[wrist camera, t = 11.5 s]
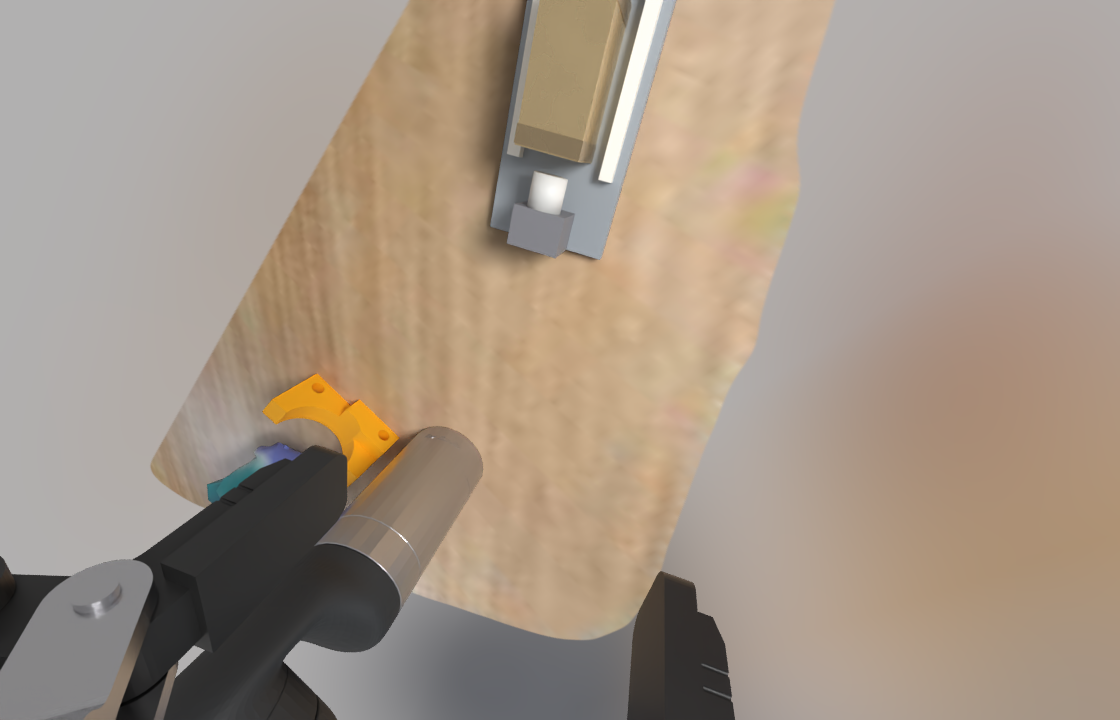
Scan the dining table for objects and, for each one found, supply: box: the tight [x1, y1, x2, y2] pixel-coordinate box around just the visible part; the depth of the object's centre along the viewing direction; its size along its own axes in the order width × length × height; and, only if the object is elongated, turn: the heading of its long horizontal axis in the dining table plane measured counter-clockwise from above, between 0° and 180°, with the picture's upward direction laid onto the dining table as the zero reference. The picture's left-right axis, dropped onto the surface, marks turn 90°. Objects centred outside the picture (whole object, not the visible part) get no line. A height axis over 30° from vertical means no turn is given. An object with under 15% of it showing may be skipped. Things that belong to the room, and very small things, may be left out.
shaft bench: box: [490, 0, 676, 260], centre depth 29 cm, size 24×10×5 cm, turn 166°
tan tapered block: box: [514, 0, 632, 164], centre depth 28 cm, size 10×5×6 cm, turn 166°
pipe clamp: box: [262, 374, 399, 487], centre depth 48 cm, size 12×4×6 cm, turn 43°
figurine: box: [207, 442, 302, 503], centre depth 52 cm, size 13×12×9 cm
